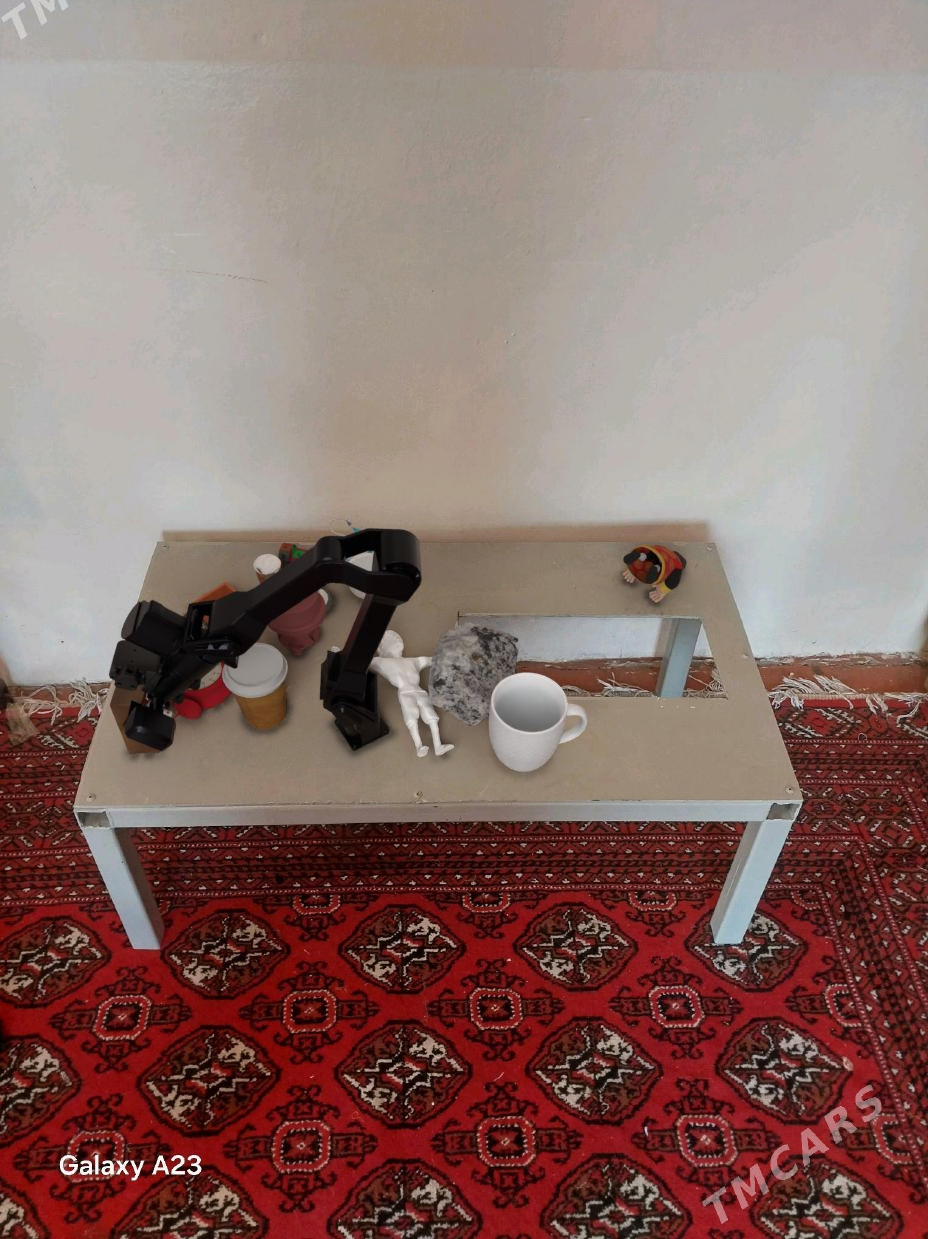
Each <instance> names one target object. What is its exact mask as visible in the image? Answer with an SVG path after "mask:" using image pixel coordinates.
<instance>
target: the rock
mask: <svg viewBox="0 0 928 1239" xmlns="http://www.w3.org/2000/svg"><path fill="white" fill-rule="evenodd" d="M518 642H519V638H518V637H516V636H513V635H511V634H510V633H508V632H505V631H502V630H500V629H499V628H496V627H494V626H492V625H489V624H484V625H483V624H477V623H474V622H469V621H465V622H464V623H461V624H458V625H456V626H455V628H449V629H447V630H446V631H445V632H444V634H443V635H441V636H439V638H438V639H437V642H436V644H434V647H433V655H432V656H433V657H432V656H431V657H432V660H431V663H432V666H430V668H429V676H428V684H427V687H428V694H429V696H430V701H431V703H432V704H433V706H435V707H437V708H442V709H443V710H444V711H445V712H446V713H449V714H451V715H452V716H453V717H454V718H456V719H457V720H458V721H460V722H462V723H463V724H465V725H467V726H469V727H473V726H475V727H476V726H479V724H480V723H481V722H482V721H483V720H484V719H486V718H489V711H490V703H491V696H492V693H493V690H494V688H495V687H496V686H497V684H498V683H499V682H500V681H502V680H503V679H505V678H506V677H508V676H511V675H514V674H517V661H518V655H519V649H518V647H517V646H516V645H517V643H518Z"/></svg>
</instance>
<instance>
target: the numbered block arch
mask: <svg viewBox="0 0 928 1239" xmlns="http://www.w3.org/2000/svg"><path fill="white" fill-rule="evenodd" d="M308 550H309V549H304V548H299V547H297V544H294V543H289V542H283V543H281V545H280V547H279V550H278V556H277V557H278V558H279V559H280V561H281V569H282V568H284V567H285V566H286V565H288V564H289V563H291V562H292V561H294V560H295V559H297V558H298V557H299V556H301V555H302V554H304V553H305V552H307V551H308Z"/></svg>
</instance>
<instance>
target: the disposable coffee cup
mask: <svg viewBox="0 0 928 1239" xmlns="http://www.w3.org/2000/svg"><path fill="white" fill-rule="evenodd" d="M288 670H289V669H288V661H287V659H286V657H285V656H284V654H283V653H281V651H279V649H278V648H276V647H275V646H274V645H271V644H268V643H265V642H256V643H255V644H254V645H253V646H252V647H251V648H250V649H249V650H248V651H247V652H246V653H245V654H243V655H241V656H239V661H238V668H236V669H233V668H231V667H229V666H227V665H224V668H223V671H222V677H223V681H224V683H225V685H226V687H227V688H228V689H229V690H230V691H232V692H231V694H232V696H233V697H234V700H235V701H236V703H237V706H238V707H239V709H240V711H241V712H242V715H243V716H244V719H245V720H246V722H247V724H248V725H249V727H252V728H254V729H257V730H262V731H263V730H270V729H273V728H276V727H277V726H279V725H280V724H281V723H282V722H283V721H284V719H285V718H286V715H287V684H286V680H287V679H286V677H287V676H288Z"/></svg>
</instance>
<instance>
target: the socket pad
mask: <svg viewBox="0 0 928 1239" xmlns="http://www.w3.org/2000/svg"><path fill="white" fill-rule="evenodd" d="M235 591H238V590H237V589H236V588H234V587H233V586H232V585H231V584H229V582H227V581H226V580H225V581H224V582H222V583H221V584H219V585H218V586H216V587H214V588H212V589H211V590H210V591H209V590H208V592H206V593H205V594H203V595H201V596H200V597H198V598H197V599H195V600H193V601H192V602H191V603H196V602H203V601H210V600H217V599H220V598H222V597H224V596H226V595H228V594H230V593H232V592H235ZM208 619H209V616H204V619H203V622H204V623H205V624H206V625H208Z"/></svg>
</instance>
